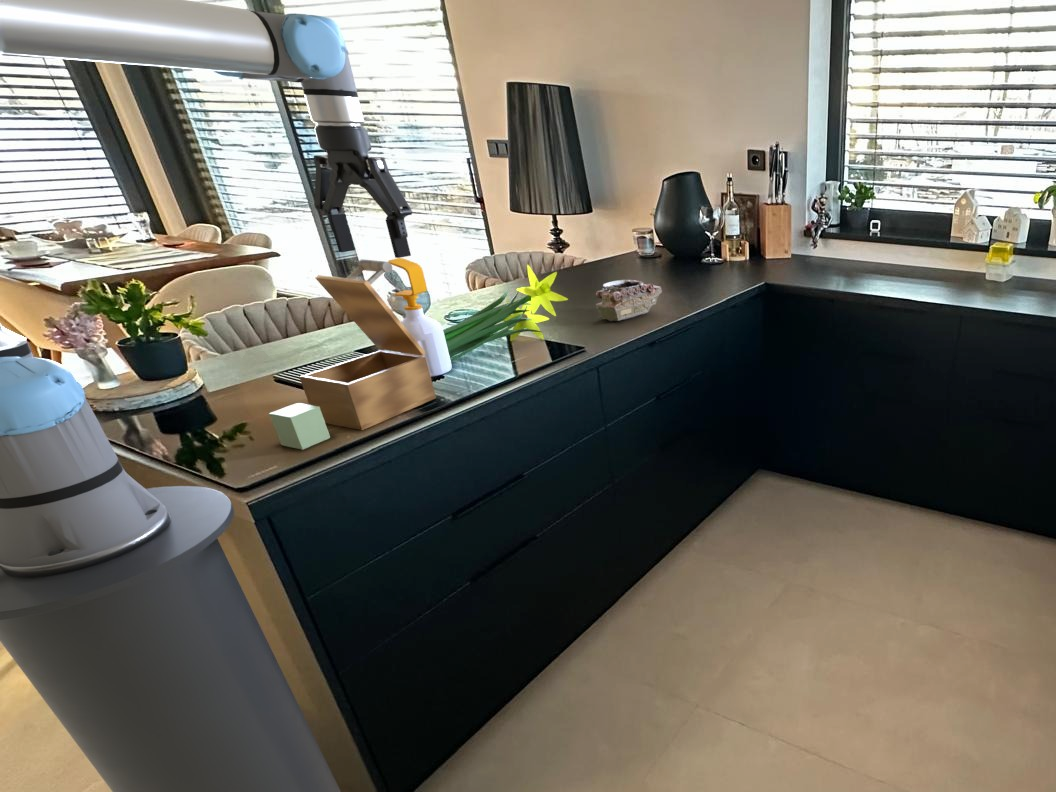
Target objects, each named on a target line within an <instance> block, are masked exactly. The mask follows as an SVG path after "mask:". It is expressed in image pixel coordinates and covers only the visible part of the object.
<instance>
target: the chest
mask: <svg viewBox="0 0 1056 792" xmlns="http://www.w3.org/2000/svg"><path fill="white" fill-rule="evenodd" d="M299 381H300V383H301V386H302V388H303V391H304V394H305V397H306V399H307V402H308V405H313V406H318V407H320V410H321V413H322V415H323V418H324V421H325V424H329V425H334V426H338V427H344V428H348V429H353V430H359V431H364V430H366V429H368V428H371V427H373V426H376V425H378V424H380V423H382V422H385V421H387V420H389V419H391V418H392V419H393V418H394V417H396V416H398V415H401V414H403V413H405V412H408V411H410V410H412V409H414V408H417V407H419V406H422V405H424V404H426V403H428V402H430V401H433V400H435V399H437V396H436V392H435V388H434V384H433V379H432V377H431V376H430V372H429V369H428V365H427V361H426V357H423V356H416V355H410V354H403V353H400V352H395V351H388V350H382V349H378V350H377V351H373V352H371V353H367V354H364V355H361V356H358V357H355V358H352V359H348V360H346V361H343V362H339V363H336V364H333V365H330V366H326V367H324V368H321V369H318V370H315V371H312V372H309V373H306V374H303V375H300V376H299Z"/></svg>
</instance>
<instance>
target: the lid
mask: <svg viewBox="0 0 1056 792" xmlns="http://www.w3.org/2000/svg"><path fill="white" fill-rule="evenodd" d="M357 266H358V267H356V268H355V269H354V270H353V271H352V272H351V273H350V274H349V275H348V276H347V277H341V276H339V277H338V276H331V275H321V274H318V275H316V277H314V278H315V280H316V281H317V282H318V283H319V284H320V285H321V287H323V288H324V290H325V291H326V292H327V293H328V294H329V296H331V298H332V299H333V300H334V301H335V302H336V303H337V304H338V306H339V307H340V308H341V309H342V310H343V311H344V313H346V314H347V316H348V317H349V318H350V319H351V320H352V321H353V323H354V324H355V325H356V326H357V327H358V328H359V329H360V330H361V331H362V332H363V333H364V335H365V336H366V337H367V338H368V339H369V340H370V341H371V343H372V344H373V345H374V346H375V347H376V348H377V349H378V350H383V351H390V352H397V353H400V352H402V353H408V354H415V355H422V356H424V355H425V354H426V352H425V351H424V350H423V349H422V347H421V346H420V345H419V344H418V342H417V341H416V340H415V339H414V338H413V336H412V335H411V334H410V333H409V331H408V330H407V329H406V328H405V327H404V325H403V324H402V323H401V320H400V319H399V318H398V316H397V315H396V314H395V313H394V312H393V310H392V309H391V308H390V307H389V305H388V304H387V303H386V302H385V301H384V299H383V298H382V297H381V296H380V294H379V293H378V292H377V290H375V289H374V287H373V286H372V285H373V283H374V282H376V280H378V279H379V278H380V277H381V276H382V275H383V274H384V273H386V274H390V273H392V271H393V265H392V264H390V263H389V262H388V261H384V260H375V259H365V258H364V259H363V258H360V259H359V260H358V262H357ZM364 271H367V272H374V273H373V274H372V275H371V276H370V277H369V278H367V279H366V280H365V279H357V277H358V276H359V275H360V274H361V273H362V272H364Z"/></svg>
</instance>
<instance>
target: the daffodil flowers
mask: <svg viewBox="0 0 1056 792" xmlns="http://www.w3.org/2000/svg"><path fill="white" fill-rule="evenodd" d="M526 267H527V269H526V270H527V277H528V281H529V285H530V286H522V287H518V288H516V291H517V292H515V295H514V296H513V298H512V299H511V300H506V303H505V304H502V303H503V302H504V301H505V299H506V297H507V296H508V293H509V290H510V289H509V288H508V289H507V290H506V291H505V292H504V293H503V295H501V296H500V297H499V298H498V299H496V300H495V301H493V302H492V303H490V304H488V305H487V306H485V307H484V308H482V309H481V310H479V311H477V312H475V313H473V314H472V315H470V316H469V317H467V318H465V319H463V320H462V321H460V322H458V323H456V324H453V325H451V326H448V327H446V328H443V332H444V336H445V340H446V344H447V348H448V352H449V356H450V360H451V363H452V362H453V361H455V360H457V359H459V358H461V357H463V356H465V355H467V354H468V353H470V352H473V351H474V350H476V349H477V348H479V347H481V346H483V345H484V344H487V343H490V342H493V341H495V340H499V339H501V338H504V337H508V336H510V337H509V342H513V341H514V340H515V339H516V338H517V337H518V336H519V335H520V334H521V333H523V332H531V333H532V334H533V335H535V336H536V337H538V338H540V339H541V340H545V337H544V334H543V331H542V330H541V329H540V327H539V326H538V325H537V324H538V323H543V322H545V321H549V320H550V318H549V317H548V316H545V315H542V314H536V312H537V311H538V309H539V307H540V306H542V307H543V309H544V310H545V311H546V312H547V313H549V314H550V315H552V316H554V317H557V314H556V311H555V309H554V306H553V305H552V302H565V301H568V300H569V298H567V297H566V296H564V295H562V294H560V293H557V292H555V291H553V290H551V287H552V285H553V284H554V282H555V279H556V277H557V274H558V271H555V272H552V273H551V274H548V276H546V277H545V278H543V279H542V280H540V281H539V279H538V277H537V275H536V274H535V272H534V270H533V269H532V267H531V266H530V265H529V264H528V263H527V264H526ZM519 293H521V294H522V295H521V296H520V298H519V299H517V300H516V298H517V296H518V294H519ZM523 294H524V295H526V296H524V295H523ZM501 304H502V305H501ZM520 306H521V308H520Z"/></svg>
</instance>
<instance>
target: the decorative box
mask: <svg viewBox="0 0 1056 792" xmlns="http://www.w3.org/2000/svg"><path fill="white" fill-rule="evenodd" d="M662 293H663V290H662V286H658V285H655V284H653V283H648V284H647V283H644V282H643V281H641V280H638V279H618V280H613V281H608V282H605V283H603V285H602V289H601V290H597V291H595V298H596V299H598V300H601V302H598V303H596V304H595V306H596V309H597V311H598V313H599V316H600V318H601V319H603V320H608V321H609V322H613V321H615V322H619V321H623V320H629V319H632V318H635V317H638V316H641V315H644V314H648V313H649V310H650V309H651V307H652V306H656V304H657V302H658V298H659V296H660V294H662Z"/></svg>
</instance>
